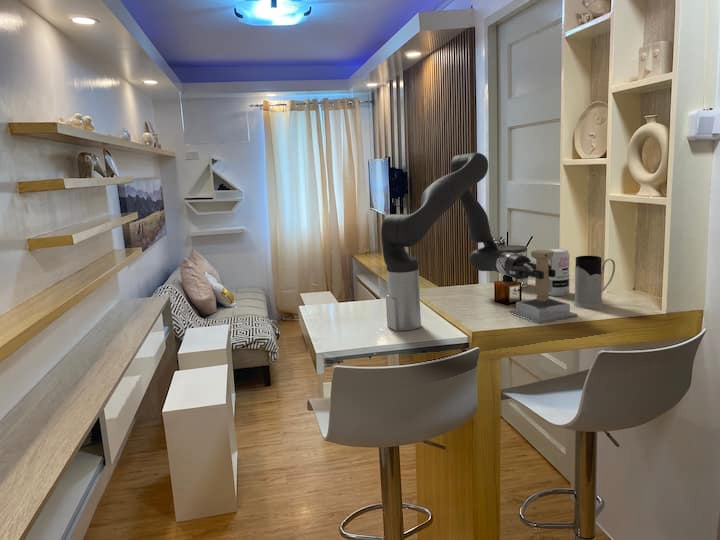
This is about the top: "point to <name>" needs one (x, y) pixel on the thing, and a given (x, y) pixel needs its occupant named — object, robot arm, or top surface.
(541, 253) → the handle
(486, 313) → the top surface
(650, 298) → the top surface
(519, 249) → the lidded glass jar
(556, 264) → the supplement can
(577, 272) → the grey mug
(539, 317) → the collar
